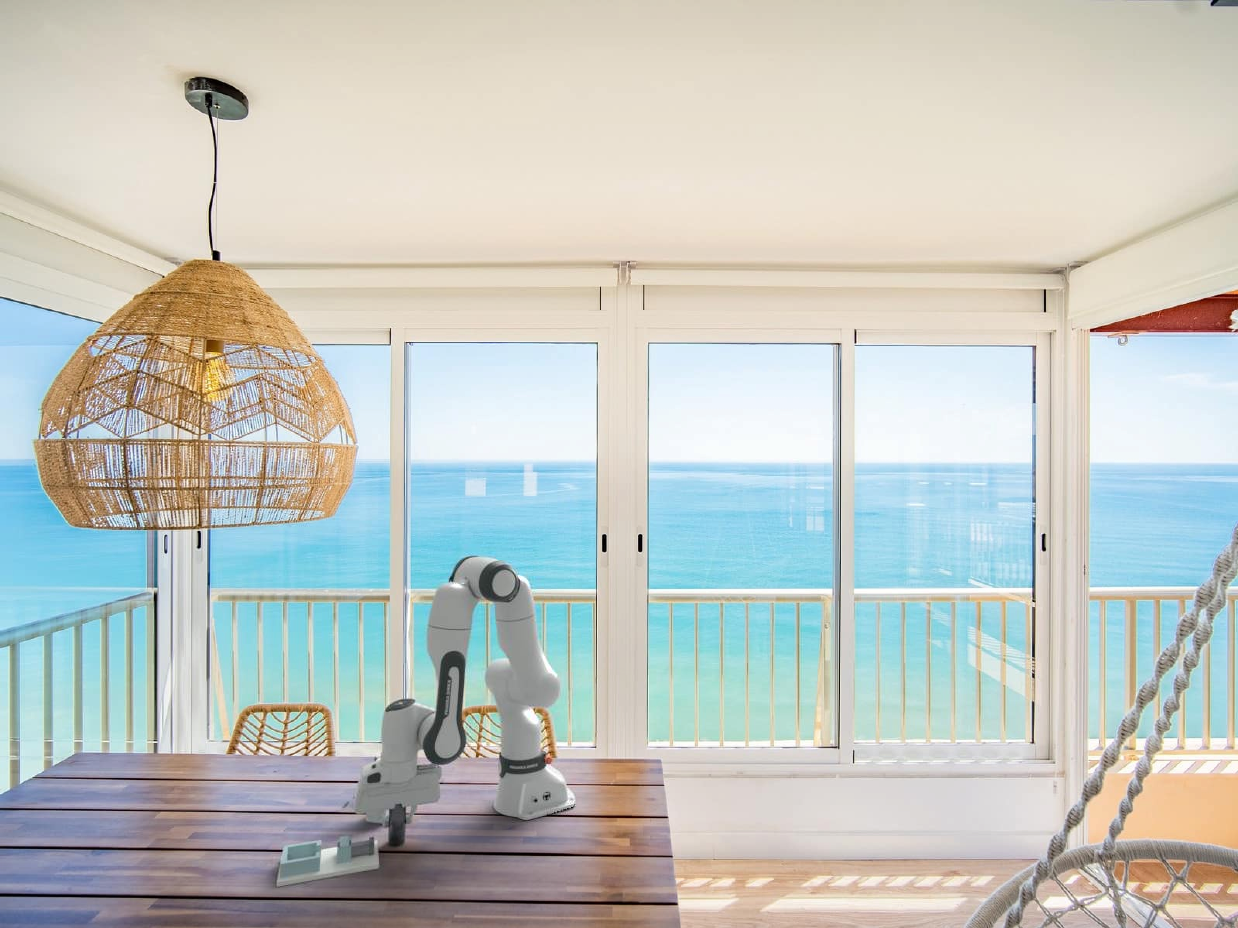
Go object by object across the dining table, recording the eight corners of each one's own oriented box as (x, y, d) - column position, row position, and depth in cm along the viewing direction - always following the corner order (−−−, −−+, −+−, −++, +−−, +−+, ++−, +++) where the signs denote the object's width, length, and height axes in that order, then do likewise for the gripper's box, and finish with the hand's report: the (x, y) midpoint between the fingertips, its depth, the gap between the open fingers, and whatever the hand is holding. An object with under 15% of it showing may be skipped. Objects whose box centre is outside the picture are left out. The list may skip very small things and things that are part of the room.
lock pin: (373, 848, 160) (373, 836, 160) (373, 854, 157) (374, 842, 158) (337, 855, 157) (337, 842, 157) (336, 860, 154) (337, 848, 155)
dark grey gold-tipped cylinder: (404, 836, 168) (405, 789, 168) (405, 844, 164) (407, 796, 165) (387, 839, 166) (389, 791, 167) (388, 847, 163) (390, 798, 163)
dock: (377, 844, 164) (377, 824, 164) (379, 868, 154) (379, 847, 154) (281, 860, 156) (282, 839, 156) (276, 887, 146) (277, 864, 146)
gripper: (440, 757, 173) (438, 812, 172) (355, 768, 165) (353, 825, 165) (443, 767, 167) (442, 823, 166) (355, 778, 159) (353, 838, 159)
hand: (397, 824), depth 166 cm, fingers closed on dark grey gold-tipped cylinder, 4 cm apart
